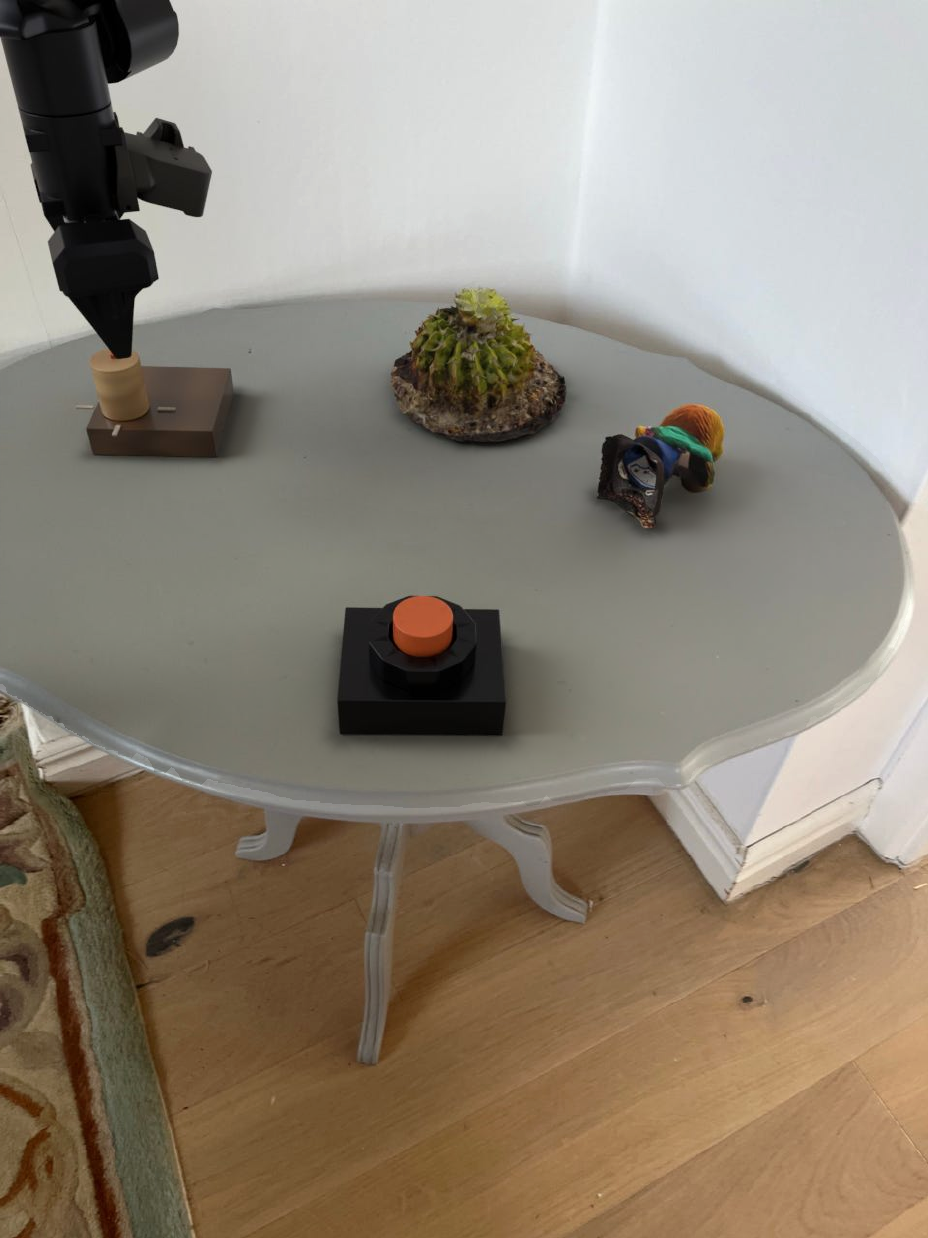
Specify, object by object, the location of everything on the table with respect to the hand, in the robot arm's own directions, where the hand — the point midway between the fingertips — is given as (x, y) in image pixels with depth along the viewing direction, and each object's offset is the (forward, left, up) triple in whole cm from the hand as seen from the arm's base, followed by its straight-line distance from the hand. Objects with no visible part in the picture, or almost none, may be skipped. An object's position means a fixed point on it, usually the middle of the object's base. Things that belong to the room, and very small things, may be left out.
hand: (115, 328), depth 73 cm
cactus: (+28, +9, -10) cm, 32 cm away
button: (+23, -27, -6) cm, 36 cm away
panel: (+2, +3, -10) cm, 11 cm away
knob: (-1, +1, -8) cm, 8 cm away
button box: (+24, -27, -10) cm, 37 cm away
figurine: (+43, -5, -11) cm, 44 cm away
